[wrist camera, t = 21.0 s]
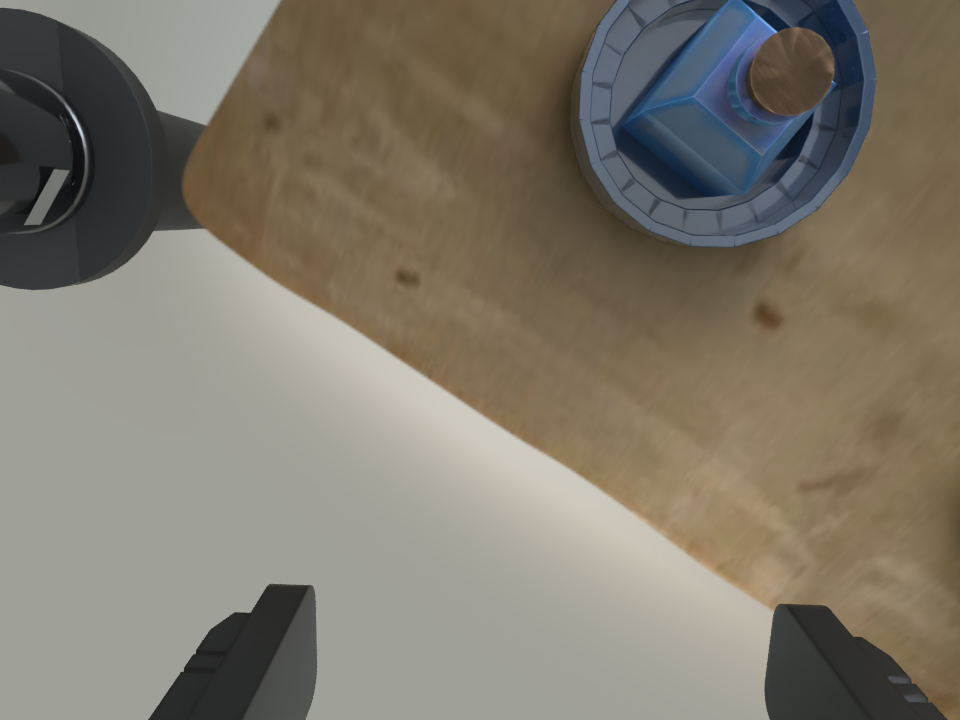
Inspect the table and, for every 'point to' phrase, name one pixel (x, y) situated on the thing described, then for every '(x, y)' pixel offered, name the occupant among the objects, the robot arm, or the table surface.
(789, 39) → the perfume bottle
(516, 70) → the table surface
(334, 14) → the table surface
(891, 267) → the table surface
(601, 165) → the bowl
